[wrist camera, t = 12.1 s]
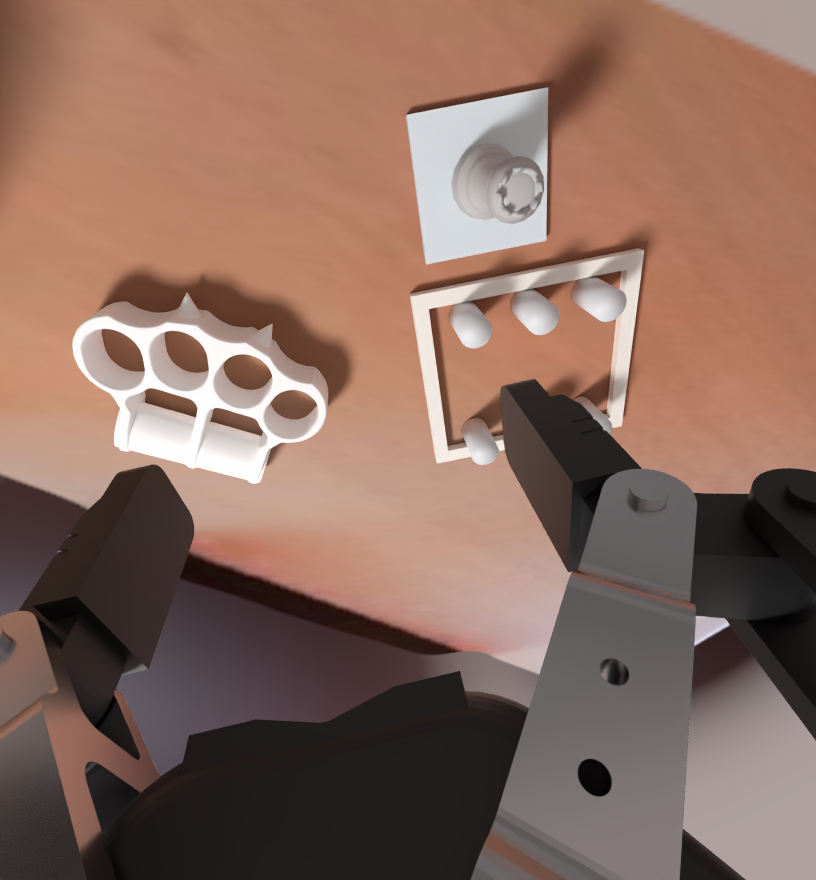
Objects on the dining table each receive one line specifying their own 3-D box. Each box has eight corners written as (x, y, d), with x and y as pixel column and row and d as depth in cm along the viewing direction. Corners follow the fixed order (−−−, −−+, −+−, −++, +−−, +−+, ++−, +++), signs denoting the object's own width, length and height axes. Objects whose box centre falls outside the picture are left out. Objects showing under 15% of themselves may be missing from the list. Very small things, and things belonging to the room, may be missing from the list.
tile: (425, 262, 33) (426, 264, 33) (405, 115, 28) (406, 114, 28) (543, 239, 33) (546, 240, 33) (545, 88, 28) (548, 87, 28)
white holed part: (84, 422, 38) (101, 250, 31) (296, 478, 43) (349, 343, 37) (63, 445, 35) (77, 261, 28) (292, 501, 41) (350, 360, 34)
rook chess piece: (517, 141, 29) (568, 140, 23) (511, 216, 32) (555, 236, 25) (450, 143, 29) (482, 143, 22) (449, 219, 32) (477, 240, 25)
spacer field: (435, 458, 43) (443, 484, 40) (409, 293, 34) (416, 309, 31) (617, 421, 44) (639, 444, 40) (638, 248, 35) (669, 259, 31)
